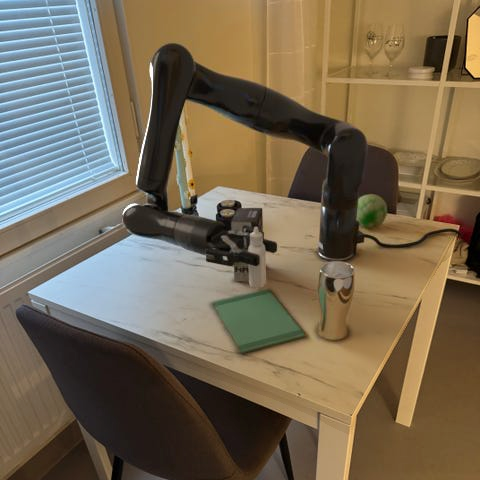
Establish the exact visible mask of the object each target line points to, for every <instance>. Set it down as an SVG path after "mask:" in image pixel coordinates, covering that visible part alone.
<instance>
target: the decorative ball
mask: <svg viewBox="0 0 480 480" xmlns="http://www.w3.org/2000/svg"><path fill="white" fill-rule="evenodd" d="M387 206H388V205H387V202H386V201H385V200H384V198H382V197H381V196H380V195H377V194H373V193H368V194H364V195H362V196H359V199H358V209H357V219H356V220H357V221H359V228H362V229H365V230H372V229H373V230H374V229H375V228H378V227H379V226H381V225H383V223H384V221H385V220H386V218H387V215H388V207H387Z"/></svg>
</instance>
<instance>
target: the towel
mask: <svg viewBox="0 0 480 480" xmlns="http://www.w3.org/2000/svg"><path fill="white" fill-rule="evenodd" d="M212 305H213V306H214V308H215V309H216V312H217V313H218V315H219V317H220V318H221V320H222V322H223V323H224V326H225V327H226V329H227V330H228V332H229V334H230V335H231V337H232V339H233V340H234V342H235V344H236V347H238V350H239V351H240V353H241V354H245V353H250V352H255V351H257V350H261V349H265V348H268V347H271V346H276V345H279V344H283V343H286V342H287V343H288V342H290V341H294V340H298V339H301V338H305V337H306V334H305V333H304V331H303V330H302V329H301V328H300V327H299V325H298V324H297V323H296V322H295V321H294V319H293V318H292V317H291V315H290V314H289V313H288V312H287V310H286V309H285V308H284V306H282V304H281V303H280V302H279V301H278V299H277V298H276V297H275V295H274V294H273V293H272V292H271V290H270V289H269V288H267V289H261V290H257V291H253V292H249V293H244V294H240V295H236V296H232V297H227V298H223V299H218V300H214V301H212Z"/></svg>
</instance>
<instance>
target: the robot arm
mask: <svg viewBox="0 0 480 480" xmlns="http://www.w3.org/2000/svg"><path fill="white" fill-rule="evenodd" d="M149 76H150V80H151V102H150V111H149V117H148V121H147V127H146V131H145V136H144V139H143V143H142V146H141V152H140V156H139V163H138V167H137V174H136V179H135V187H136V189H137V190H138V191H139V192H141V193H144V194H145V199H146V203H140V202H139V203H137V202H136V203H131V204H129V205H128V206H126V207H125V208H124V210H123V211H122V215H121V222H122V225H123V227H124V228H125V230H126V231H127V232H129V234H131V235H133V236H135V237H140V238H144V239H145V238H146V239H152V240H158V241H162V242H165V243H168V244H170V245H173V246H177V247H180V248H182V249H185V250H187V251H190V252H192V253H196V254H200V255H203V256H205V262H207V263H211V264H216V265H222V266H225V267H226V266H227V267H234V263H235V262H236V263H241V262H242V263H246V264H249V265H253V266H258V265H259V264H260V257H259V255H258V254H254V253H251V252H247V251H244V250H248V248H249V246H250V234H251V233H252V232H254V228H252V227H249V226H246V225H244V226H242V230H240V231H235V230H231V229H229V228H228V227H227V226H226V225H225V224H224V223H223V222H222V221H219V220H215V219H211V218H207V217H205V216H204V217H202V216H200V215H194V214H186V213H184V212H183V213H182V212H179V211H174V210H169V195H168V187H169V182H170V177H171V172H172V166H173V160H174V155H175V149H176V141H177V136H178V131H179V130H178V129H179V126H180V121H181V117H182V113H183V110H184V107H185V103H186V101H188V102H191V103H193V104H197V105H201V106H203V107H206V108H208V109H210V110H213V111H214V112H216V113H217V114H220V115H221V116H223V117H225V118H227V119H229V120H231V121H233V122H235V123H237V124H239V125H241V126H243V127H245V128H248V129H250V130H253V131H255V132H257V133H260V134H262V135H265V136H269V137H272V138H276V139H280V140H281V139H282V140H289V141H294V142H298V143H301V144H303V145H305V146H307V147H309V148H311V149H314V151H316V152H318V153H320V154H322V155H323V156H324V157H325V158H326V159H327V165H326V166H327V167H326V176H325V177H326V178H324V179H323V181H322V184H321V195H320V197H321V199H320V218H319V234H318V235H319V236H318V242H317V246H318V249H317V255H318V256H319V257H320V258H321V259H323V260H325V261H327V262H331V261H342V262H346V261H348V260H350V259H351V258H353V257H354V256H357V250H358V249H357V248H358V245H359V244H364V243H365V238H366V239H370V240H372V241H374V242H375V243H376V245H378V246H379V247H382V248H392V249H394V248H395V249H396V248H397V249H399V248H407V247H408V248H409V247H412V246H413V247H414V246H417V245H420V244H422V243H423V242H424V241H425V240H426V239H427V238H428V237H430V236H433V235H438V234H442V233H443V234H444V233H454V234H455V235H458V236H463V233H462V232H461V231H460V230H458V229H456V228H442V229H437V230H433V231H429V232H427V233H425V234H424V235H423V236H422V237H421V238H420V239H419V240H416V241H412V242H407V243H401V244H400V243H399V244H390V243H384V242H381V241H380V240H379V239H378V238H377V237H376V236H373V235H371V234H368V233H364V232H363V231H361V230H360V226H359V221H357V220H356V219H357V209H358V199H359V198H360V189H361V186H362V185H363V182H364V178H365V172H366V171H365V170H366V165H367V158H368V157H367V156H368V140H367V136H366V134H365V133H364V132H363V131H362V130H360V129H359V128H358V127H357V126H355V125H354V124H353V123H350V122H348V121H344V120H341V119H338V118H333V117H330V116H326V115H323V114H321V113H318V112H315V111H313V110H311V109H309V108H307V107H306V106H304V105H302V104H301V103H300V102H298V101H297V100H294V99H292V98H291V97H289V96H287V95H285V94H283V93H282V92H280V91H277V90H275V89H273V88H270V87H268V86H266V85H264V84H262V83H258V82H256V81H252V80H249V79H246V78H240V77H235V76H233V75H232V76H231V75H227V74H223V73H219V72H217V71H214V70H213V69H210V68H208V67H206V66H204V65H202V64H201V63H198V62H197V61H195V59H194V57H193V55H192V53H191V52H190V51H189V50H188V48H187V47H185V46H184V45H182V44H180V43H177V42H168V43H164V44H163V45H161V46H160V47H158V48H157V49H156V51H155V52H154V53H153V55H152V57H151V60H150V65H149ZM259 232H261V233H262V234H263V244H264V245H265V250H266V253H267V252H268V253H270V254H275V253H276V252H278V242H276V241H273V240H270V239H267V238H265V232H264V231H263V232H262V231H260V230H259ZM244 238H245V240H246V245H244ZM241 250H243V251H242V252H241ZM224 257H225V258H226V259H224Z"/></svg>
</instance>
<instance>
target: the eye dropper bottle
mask: <svg viewBox="0 0 480 480" xmlns="http://www.w3.org/2000/svg"><path fill="white" fill-rule="evenodd" d="M248 252H251V253H254V254H258V255H259V257H260V264H259V265H258V266H253V265H249V264H248V268H249V283H248V284H249V286H250V288H252V289H262V288H263V287H264V286H265V284H266V282H267V258H266V257H267V256H266V255H267V254H266V253H267V251H266V250H265V245H264V244H263V234H262V233H261V232H259V230H258V227H254V232H252V233H251V234H250V246H249V248H248Z"/></svg>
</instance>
